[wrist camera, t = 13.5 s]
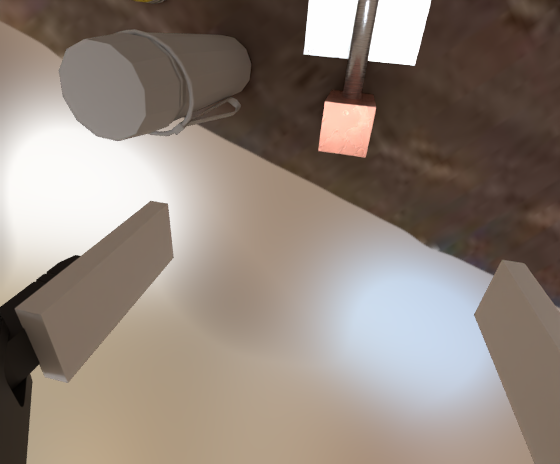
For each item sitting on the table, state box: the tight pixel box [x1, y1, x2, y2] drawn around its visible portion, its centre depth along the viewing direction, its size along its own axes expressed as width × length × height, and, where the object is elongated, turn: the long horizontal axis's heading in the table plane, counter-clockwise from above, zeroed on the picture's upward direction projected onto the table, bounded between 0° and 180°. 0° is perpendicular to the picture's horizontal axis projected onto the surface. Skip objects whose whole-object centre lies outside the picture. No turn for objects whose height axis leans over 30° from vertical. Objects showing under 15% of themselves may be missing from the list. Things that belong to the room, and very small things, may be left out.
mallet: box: [318, 0, 379, 157], centre depth 34 cm, size 24×5×9 cm, turn 176°
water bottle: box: [59, 29, 251, 141], centre depth 34 cm, size 9×8×25 cm
